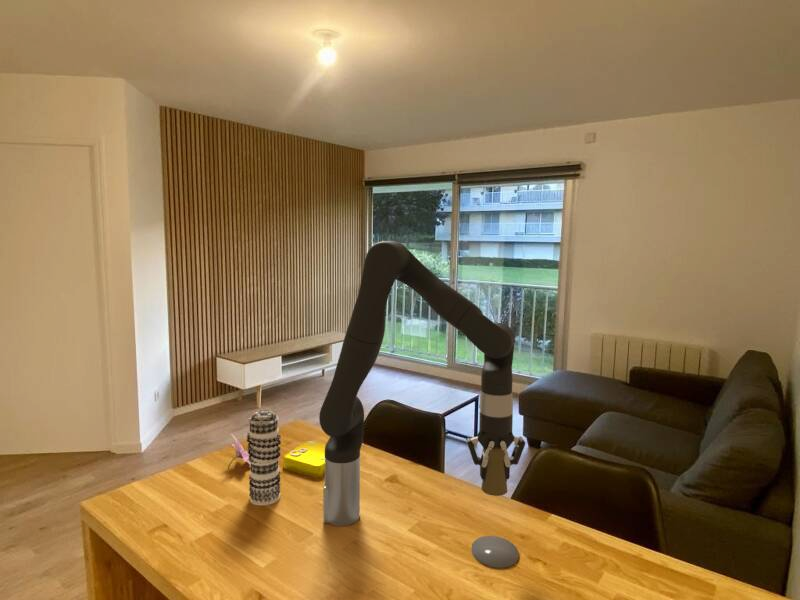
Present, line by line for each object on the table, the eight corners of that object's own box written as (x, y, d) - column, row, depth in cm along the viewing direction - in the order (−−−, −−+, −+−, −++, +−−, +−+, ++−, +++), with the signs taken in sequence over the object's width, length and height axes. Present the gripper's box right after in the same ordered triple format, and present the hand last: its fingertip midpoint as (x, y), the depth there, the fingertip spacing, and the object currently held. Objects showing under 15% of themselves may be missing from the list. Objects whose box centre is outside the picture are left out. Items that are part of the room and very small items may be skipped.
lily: (240, 481, 147) (255, 452, 148) (208, 463, 148) (223, 435, 149) (254, 475, 158) (268, 448, 160) (224, 458, 160) (238, 431, 161)
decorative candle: (241, 502, 134) (238, 416, 130) (262, 486, 142) (260, 405, 139) (268, 509, 130) (266, 421, 127) (288, 493, 139) (287, 410, 135)
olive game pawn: (507, 497, 109) (508, 451, 108) (480, 494, 110) (481, 448, 109) (507, 484, 115) (508, 440, 113) (481, 481, 116) (482, 438, 115)
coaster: (475, 567, 109) (475, 565, 109) (468, 537, 120) (468, 535, 119) (523, 568, 109) (523, 566, 109) (512, 538, 120) (512, 536, 120)
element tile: (319, 480, 147) (319, 465, 146) (280, 469, 154) (280, 455, 153) (345, 460, 160) (345, 446, 160) (309, 450, 167) (309, 437, 166)
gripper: (467, 416, 106) (466, 488, 108) (531, 415, 106) (529, 488, 109) (463, 404, 114) (462, 473, 116) (522, 404, 114) (520, 472, 116)
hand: (494, 479), depth 112 cm, fingers closed on olive game pawn, 4 cm apart
